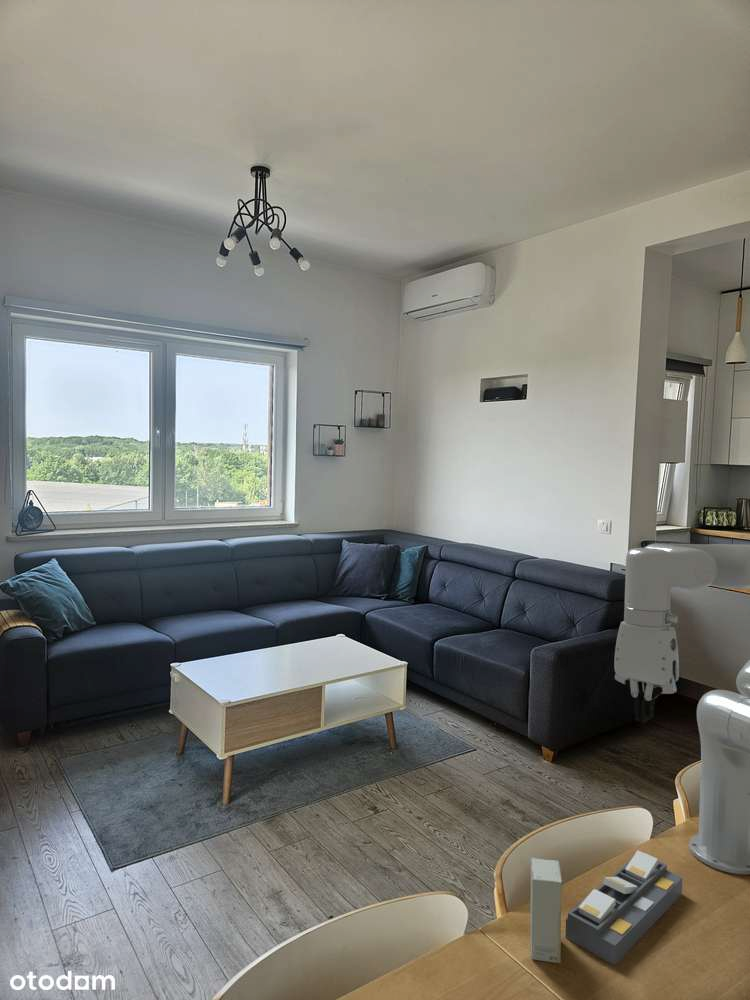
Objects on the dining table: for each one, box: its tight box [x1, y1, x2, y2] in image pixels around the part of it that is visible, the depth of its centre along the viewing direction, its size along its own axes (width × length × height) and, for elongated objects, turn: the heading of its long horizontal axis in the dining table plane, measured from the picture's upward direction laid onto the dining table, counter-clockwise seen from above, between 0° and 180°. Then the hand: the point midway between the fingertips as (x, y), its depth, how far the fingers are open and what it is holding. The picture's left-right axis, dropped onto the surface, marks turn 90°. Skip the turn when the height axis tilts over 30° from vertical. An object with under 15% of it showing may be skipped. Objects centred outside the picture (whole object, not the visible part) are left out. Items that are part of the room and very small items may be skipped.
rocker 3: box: [625, 849, 659, 882], centre depth 113 cm, size 5×4×1 cm
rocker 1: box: [579, 888, 616, 924], centre depth 102 cm, size 5×4×1 cm
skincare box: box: [529, 857, 563, 964], centre depth 99 cm, size 6×4×12 cm
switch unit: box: [565, 859, 683, 966], centre depth 107 cm, size 25×8×4 cm, turn 133°
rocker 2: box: [602, 876, 638, 894], centre depth 108 cm, size 5×4×1 cm
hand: (643, 719), depth 116 cm, fingers closed
